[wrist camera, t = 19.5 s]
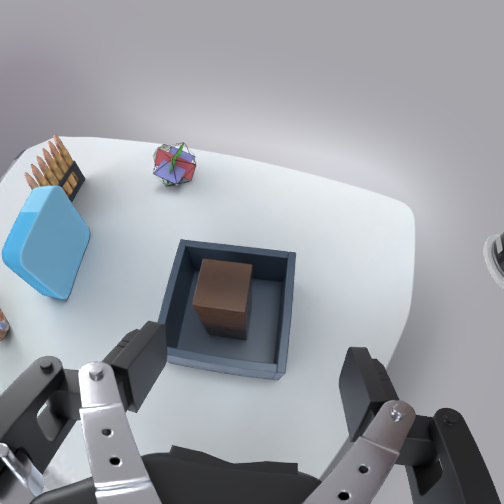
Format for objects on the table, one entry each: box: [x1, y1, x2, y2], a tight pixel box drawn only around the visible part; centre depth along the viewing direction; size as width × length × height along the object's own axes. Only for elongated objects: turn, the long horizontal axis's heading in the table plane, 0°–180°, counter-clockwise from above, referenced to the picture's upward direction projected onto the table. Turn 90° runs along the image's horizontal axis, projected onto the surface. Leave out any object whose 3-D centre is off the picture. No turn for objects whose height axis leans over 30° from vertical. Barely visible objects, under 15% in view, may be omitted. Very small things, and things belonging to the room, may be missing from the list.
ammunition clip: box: [25, 135, 85, 203], centre depth 39 cm, size 11×2×12 cm, turn 172°
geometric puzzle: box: [153, 142, 197, 187], centre depth 43 cm, size 7×7×8 cm
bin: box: [158, 239, 296, 380], centre depth 31 cm, size 13×13×7 cm
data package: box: [2, 186, 90, 299], centre depth 32 cm, size 12×4×12 cm, turn 175°
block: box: [192, 259, 252, 340], centre depth 28 cm, size 4×4×10 cm
